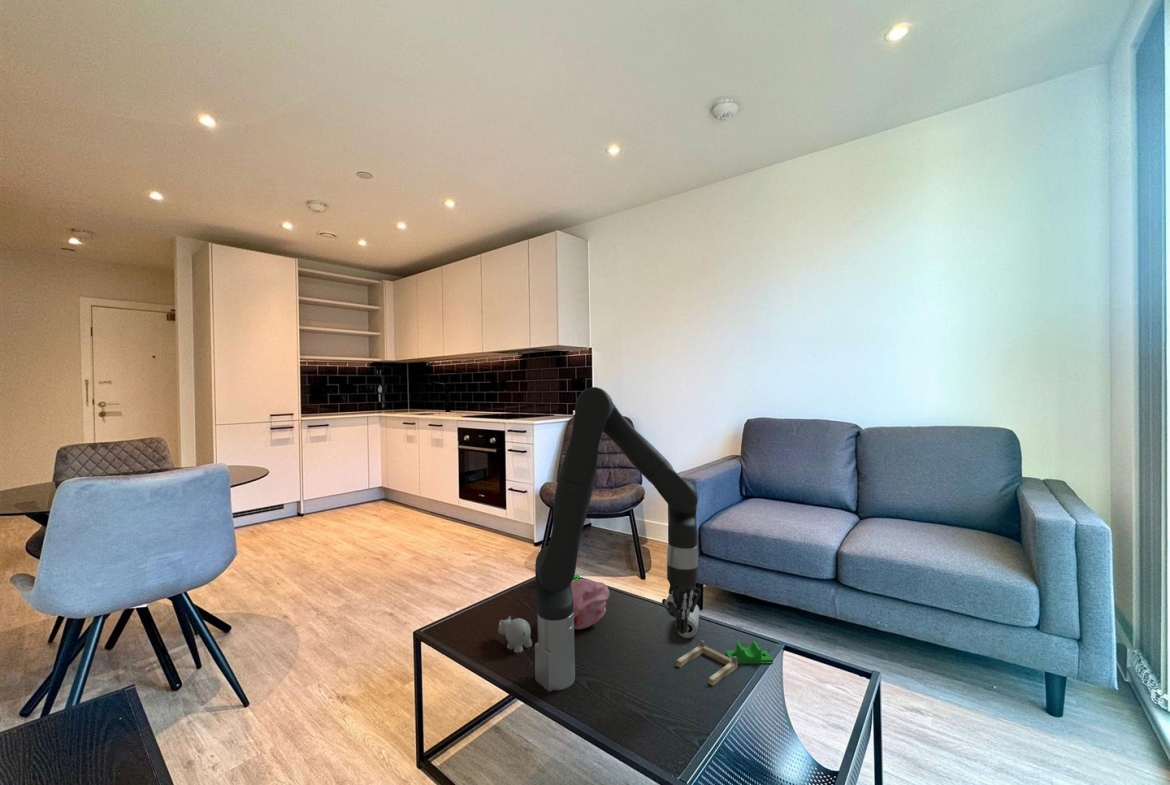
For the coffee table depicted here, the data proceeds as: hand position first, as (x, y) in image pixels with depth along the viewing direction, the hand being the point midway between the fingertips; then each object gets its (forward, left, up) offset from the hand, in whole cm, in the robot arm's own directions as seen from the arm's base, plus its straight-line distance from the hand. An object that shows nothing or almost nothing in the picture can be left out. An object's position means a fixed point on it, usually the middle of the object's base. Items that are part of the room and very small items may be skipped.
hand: (681, 631), depth 112 cm
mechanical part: (+14, +66, -14) cm, 69 cm away
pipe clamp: (+23, -1, -11) cm, 26 cm away
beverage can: (+28, +19, -11) cm, 35 cm away
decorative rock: (0, +39, -14) cm, 42 cm away
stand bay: (+11, 0, -14) cm, 17 cm away
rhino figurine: (-22, +44, -14) cm, 51 cm away
